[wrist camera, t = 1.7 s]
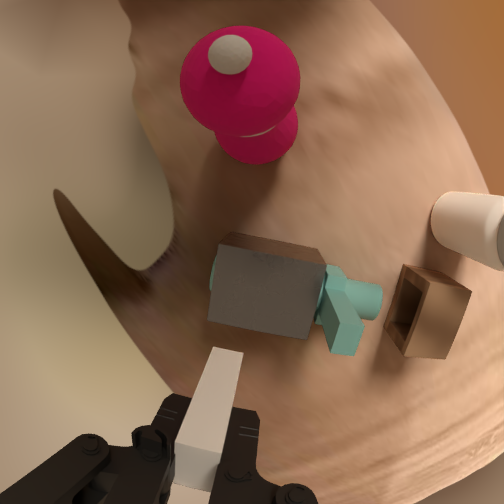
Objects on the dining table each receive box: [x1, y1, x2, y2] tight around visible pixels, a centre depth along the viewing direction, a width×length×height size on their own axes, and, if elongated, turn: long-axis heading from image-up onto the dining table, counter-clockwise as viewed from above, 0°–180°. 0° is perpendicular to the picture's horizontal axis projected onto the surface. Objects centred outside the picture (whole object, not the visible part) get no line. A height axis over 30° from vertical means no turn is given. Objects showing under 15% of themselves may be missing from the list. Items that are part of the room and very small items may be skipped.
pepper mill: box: [180, 26, 300, 164], centre depth 19 cm, size 7×7×20 cm
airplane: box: [209, 255, 383, 356], centre depth 25 cm, size 16×5×11 cm, turn 79°
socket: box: [384, 264, 472, 359], centre depth 28 cm, size 8×6×7 cm
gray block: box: [207, 232, 327, 340], centre depth 29 cm, size 7×9×7 cm
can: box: [431, 191, 504, 271], centre depth 23 cm, size 6×6×12 cm
